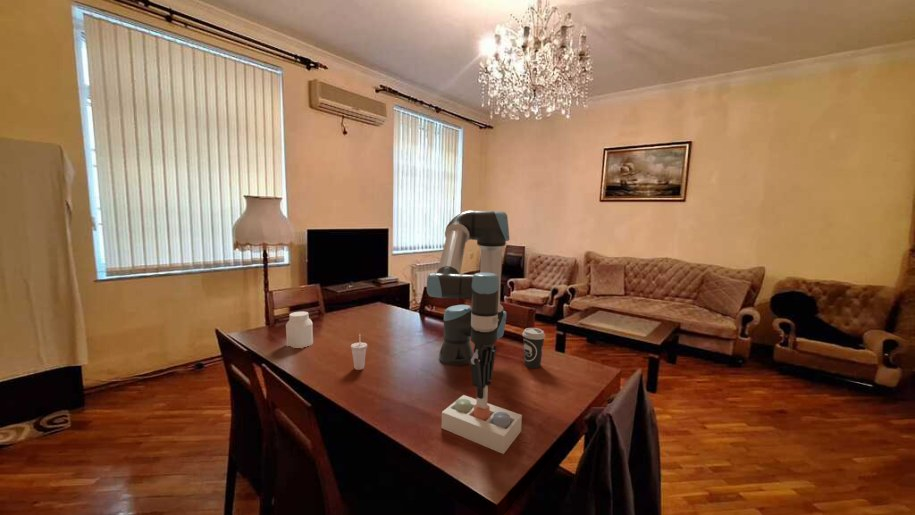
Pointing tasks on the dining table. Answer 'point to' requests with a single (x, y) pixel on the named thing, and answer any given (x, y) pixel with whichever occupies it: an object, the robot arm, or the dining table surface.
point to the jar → (299, 330)
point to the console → (482, 426)
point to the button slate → (501, 420)
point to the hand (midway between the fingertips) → (481, 406)
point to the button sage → (463, 405)
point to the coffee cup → (533, 346)
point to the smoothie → (359, 354)
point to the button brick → (481, 413)
